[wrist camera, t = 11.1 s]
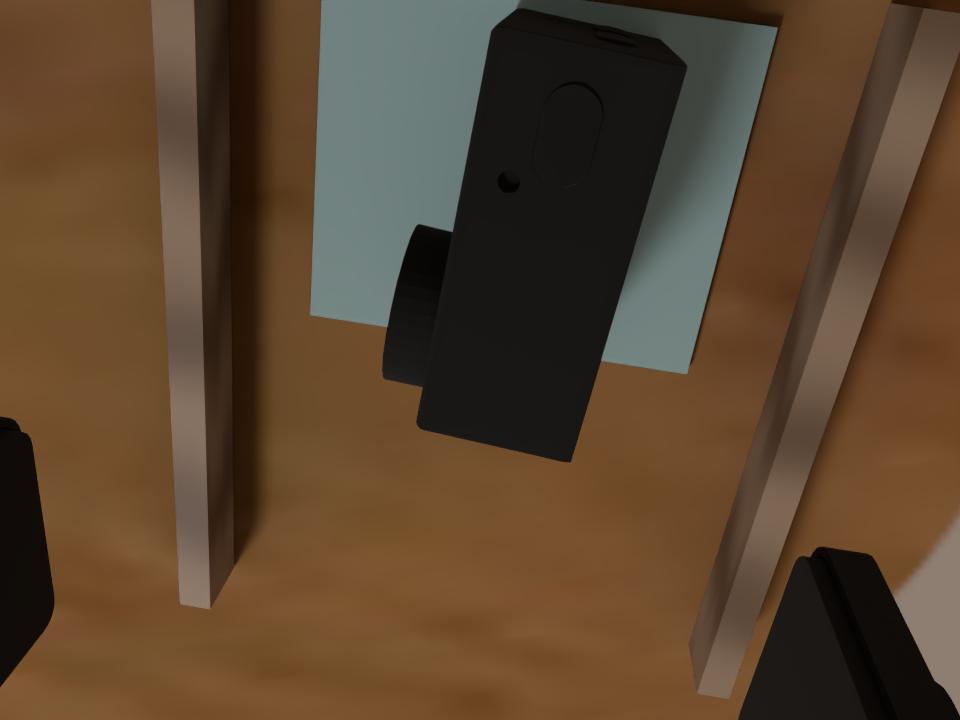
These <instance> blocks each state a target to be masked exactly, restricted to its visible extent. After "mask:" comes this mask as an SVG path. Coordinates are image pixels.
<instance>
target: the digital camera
mask: <svg viewBox="0 0 960 720" xmlns="http://www.w3.org/2000/svg"><path fill="white" fill-rule="evenodd" d="M687 68H688V67H687V65H686V63H685V62H684V61H683V60H682V59H681V58H680V57H679V56H678V55H677V54H676V53H675V52H673V51H672V50H671V49H670V48H669V47H668V46H667V45H666V44H665V43H664V42H663V41H662V40H661V39H658V38H654V37H650V36H645V35H641V34H636V33H632V32H627V31H624V30H622V29H618V28H615V27H611V26H605V25H596V24H592V23H587V22H583V21H578V20H574V19H570V18H565V17H561V16H556V15H552V14H547V13H543V12H538V11H534V10H529V9H525V8H518V9H516V10H514V11H513V12H512V13H511V14H509V15H508V16H507V17H506V18H504V19H503V20H502V21H500V22H499V23H498V24H497V25H496V26H495V27H494V28H493V29H492V30H491V34H490V39H489V44H488V50H487V55H486V60H485V65H484V70H483V76H482V81H481V86H480V91H479V97H478V102H477V107H476V112H475V117H474V123H473V128H472V133H471V138H470V144H469V149H468V154H467V159H466V165H465V170H464V175H463V180H462V185H461V191H460V196H459V201H458V206H457V212H456V217H455V222H454V227H453V232H450V231H446V230H442V229H438V228H434V227H430V226H426V225H421V224H418V225H417V226H416V227H415V229H414V231H413V233H412V235H411V237H410V240H409V243H408V246H407V249H406V252H405V255H404V258H403V262H402V265H401V269H400V273H399V276H398V280H397V284H396V288H395V293H394V297H393V301H392V306H391V310H390V316H389V321H388V327H387V332H386V339H385V346H384V353H383V367H382V371H383V378H384V379H387V380H391V381H396V382H401V383H406V384H410V385H415V386H420V387H423V389H422V395H421V400H420V405H419V410H418V415H417V421H416V422H417V425H418V427H419V428H420V429H422V430H426V431H431V432H435V433H439V434H444V435H448V436H453V437H457V438H461V439H466V440H470V441H475V442H479V443H483V444H488V445H492V446H497V447H501V448H505V449H510V450H514V451H519V452H523V453H527V454H532V455H536V456H541V457H545V458H549V459H553V460H557V461H562V462H571V460H572V456H573V453H574V450H575V446H576V443H577V440H578V436H579V433H580V430H581V426H582V423H583V420H584V416H585V413H586V410H587V406H588V403H589V399H590V396H591V393H592V389H593V386H594V383H595V379H596V376H597V373H598V369H599V366H600V362H601V359H602V356H603V352H604V349H605V346H606V342H607V339H608V335H609V332H610V329H611V325H612V322H613V319H614V315H615V312H616V308H617V305H618V302H619V298H620V295H621V291H622V288H623V285H624V281H625V278H626V275H627V271H628V268H629V264H630V261H631V258H632V254H633V251H634V248H635V244H636V241H637V237H638V234H639V231H640V227H641V224H642V221H643V217H644V214H645V210H646V207H647V204H648V200H649V197H650V193H651V190H652V187H653V183H654V180H655V176H656V173H657V170H658V166H659V163H660V159H661V156H662V153H663V149H664V146H665V142H666V139H667V136H668V132H669V129H670V125H671V122H672V119H673V115H674V112H675V108H676V105H677V102H678V98H679V95H680V91H681V88H682V85H683V81H684V78H685V75H686V71H687Z"/></svg>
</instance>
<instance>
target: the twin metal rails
mask: <svg viewBox="0 0 960 720" xmlns="http://www.w3.org/2000/svg"><path fill="white" fill-rule="evenodd" d="M151 5H152V26H153V47H154V68H155V89H156V110H157V131H158V152H159V173H160V194H161V215H162V236H163V257H164V278H165V299H166V320H167V341H168V362H169V383H170V404H171V425H172V446H173V467H174V488H175V509H176V530H177V551H178V572H179V593H180V604H183V605H189V606H194V607H200V608H206V609H211V607H212V605H213V604H214V602H215V600H216V598H217V597H218V595H219V593H220V591H221V589H222V588H223V586H224V584H225V582H226V581H227V579H228V577H229V575H230V573H231V572H232V570H233V568H234V496H233V393H232V291H231V189H230V86H229V0H151ZM959 52H960V13H956V12H950V11H943V10H936V9H929V8H922V7H915V6H907V5H900V4H893V3H891V4H890V7H889V11H888V14H887V17H886V20H885V23H884V26H883V30H882V33H881V36H880V39H879V42H878V46H877V49H876V52H875V55H874V58H873V61H872V65H871V68H870V71H869V74H868V77H867V81H866V84H865V87H864V90H863V93H862V96H861V100H860V103H859V106H858V109H857V112H856V115H855V119H854V122H853V125H852V128H851V131H850V135H849V138H848V141H847V144H846V147H845V150H844V154H843V157H842V160H841V163H840V166H839V170H838V173H837V176H836V179H835V182H834V185H833V189H832V192H831V195H830V198H829V201H828V205H827V208H826V211H825V214H824V217H823V220H822V224H821V227H820V230H819V233H818V236H817V239H816V243H815V246H814V249H813V252H812V255H811V259H810V262H809V265H808V268H807V271H806V274H805V278H804V281H803V284H802V287H801V290H800V294H799V297H798V300H797V303H796V306H795V309H794V313H793V316H792V319H791V322H790V325H789V328H788V332H787V335H786V338H785V341H784V344H783V348H782V351H781V354H780V357H779V360H778V363H777V367H776V370H775V373H774V376H773V379H772V383H771V386H770V389H769V392H768V395H767V398H766V402H765V405H764V408H763V411H762V414H761V418H760V421H759V424H758V427H757V430H756V433H755V437H754V440H753V443H752V446H751V449H750V452H749V456H748V459H747V462H746V465H745V468H744V472H743V475H742V478H741V481H740V484H739V487H738V491H737V494H736V497H735V500H734V503H733V507H732V510H731V513H730V516H729V519H728V522H727V526H726V529H725V532H724V535H723V538H722V542H721V545H720V548H719V551H718V554H717V557H716V561H715V564H714V567H713V570H712V573H711V576H710V580H709V583H708V586H707V589H706V592H705V596H704V599H703V602H702V605H701V608H700V611H699V615H698V618H697V621H696V624H695V627H694V631H693V634H692V637H691V640H690V643H689V647H690V654H691V660H692V666H693V672H694V679H695V685H696V691H697V694H703V695H708V696H714V697H720V698H726V699H729V697H730V694H731V691H732V688H733V686H734V683H735V680H736V677H737V674H738V672H739V669H740V666H741V663H742V660H743V658H744V655H745V652H746V649H747V646H748V644H749V641H750V638H751V635H752V632H753V630H754V627H755V624H756V621H757V618H758V616H759V613H760V610H761V607H762V604H763V602H764V599H765V596H766V593H767V590H768V588H769V585H770V582H771V579H772V576H773V574H774V571H775V568H776V565H777V562H778V560H779V557H780V554H781V551H782V548H783V545H784V543H785V540H786V537H787V534H788V531H789V529H790V526H791V523H792V520H793V517H794V515H795V512H796V509H797V506H798V503H799V501H800V498H801V495H802V492H803V489H804V487H805V484H806V481H807V478H808V475H809V473H810V470H811V467H812V464H813V461H814V459H815V456H816V453H817V450H818V447H819V445H820V442H821V439H822V436H823V433H824V431H825V428H826V425H827V422H828V419H829V417H830V414H831V411H832V408H833V405H834V403H835V400H836V397H837V394H838V391H839V389H840V386H841V383H842V380H843V377H844V374H845V372H846V369H847V366H848V363H849V360H850V358H851V355H852V352H853V349H854V346H855V344H856V341H857V338H858V335H859V332H860V330H861V327H862V324H863V321H864V318H865V316H866V313H867V310H868V307H869V304H870V302H871V299H872V296H873V293H874V290H875V288H876V285H877V282H878V279H879V276H880V274H881V271H882V268H883V265H884V262H885V260H886V257H887V254H888V251H889V248H890V246H891V243H892V240H893V237H894V234H895V232H896V229H897V226H898V223H899V220H900V218H901V215H902V212H903V209H904V206H905V203H906V201H907V198H908V195H909V192H910V189H911V187H912V184H913V181H914V178H915V175H916V173H917V170H918V167H919V164H920V161H921V159H922V156H923V153H924V150H925V147H926V145H927V142H928V139H929V136H930V133H931V131H932V128H933V125H934V122H935V119H936V117H937V114H938V111H939V108H940V105H941V103H942V100H943V97H944V94H945V91H946V89H947V86H948V83H949V80H950V77H951V75H952V72H953V69H954V66H955V63H956V61H957V58H958V55H959Z"/></svg>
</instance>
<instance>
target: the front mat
mask: <svg viewBox="0 0 960 720" xmlns="http://www.w3.org/2000/svg"><path fill="white" fill-rule="evenodd" d="M518 8H525V9H529V10H534V11H538V12H543V13H547V14H552V15H556V16H561V17H565V18H570V19H574V20H578V21H583V22H587V23H592V24H596V25H605V26H611V27H615V28H618V29H622V30H624V31H627V32H632V33H636V34H641V35H645V36H650V37H654V38H658V39H661V40H662V41H663V42H664V43H665V44H666V45H667V46H668V47H669V48H670V49H671V50H672V51H673V52H675V53H676V54H677V55H678V56H679V57H680V58H681V59H682V60H683V61H684V62H685V63H686V65H687V67H688V68H687V71H686V75H685V78H684V81H683V85H682V88H681V91H680V95H679V98H678V102H677V105H676V108H675V112H674V115H673V119H672V122H671V125H670V129H669V132H668V136H667V139H666V142H665V146H664V149H663V153H662V156H661V159H660V163H659V166H658V170H657V173H656V176H655V180H654V183H653V187H652V190H651V193H650V197H649V200H648V204H647V207H646V210H645V214H644V217H643V221H642V224H641V227H640V231H639V234H638V237H637V241H636V244H635V248H634V251H633V254H632V258H631V261H630V264H629V268H628V271H627V275H626V278H625V281H624V285H623V288H622V291H621V295H620V298H619V302H618V305H617V308H616V312H615V315H614V319H613V322H612V325H611V329H610V332H609V335H608V339H607V342H606V346H605V349H604V352H603V356H602V359H601V361H606V362H612V363H619V364H625V365H631V366H638V367H644V368H651V369H657V370H663V371H670V372H676V373H682V374H687V372H688V369H689V365H690V361H691V357H692V353H693V349H694V346H695V342H696V338H697V334H698V330H699V327H700V323H701V319H702V315H703V311H704V308H705V304H706V300H707V296H708V292H709V288H710V285H711V281H712V277H713V273H714V269H715V266H716V262H717V258H718V254H719V250H720V247H721V243H722V239H723V235H724V231H725V228H726V224H727V220H728V216H729V212H730V208H731V205H732V201H733V197H734V193H735V189H736V186H737V182H738V178H739V174H740V170H741V167H742V163H743V159H744V155H745V151H746V147H747V144H748V140H749V136H750V132H751V128H752V125H753V121H754V117H755V113H756V109H757V106H758V102H759V98H760V94H761V90H762V86H763V83H764V79H765V75H766V71H767V67H768V64H769V60H770V56H771V52H772V48H773V45H774V41H775V37H776V33H777V29H778V28H777V27H772V26H764V25H757V24H750V23H743V22H736V21H729V20H721V19H714V18H707V17H700V16H693V15H686V14H678V13H671V12H664V11H657V10H650V9H643V8H635V7H628V6H621V5H614V4H607V3H600V2H592V1H585V0H322V5H321V33H320V61H319V89H318V117H317V145H316V173H315V201H314V229H313V257H312V285H311V313H310V315H314V316H320V317H326V318H333V319H339V320H346V321H352V322H358V323H365V324H371V325H377V326H384V327H388V321H389V316H390V310H391V306H392V301H393V297H394V293H395V288H396V284H397V280H398V276H399V273H400V269H401V265H402V262H403V258H404V255H405V252H406V249H407V246H408V243H409V240H410V237H411V235H412V233H413V231H414V229H415V227H416V226H417V225H418V224H421V225H426V226H430V227H434V228H438V229H442V230H446V231H450V232H453V227H454V222H455V217H456V212H457V206H458V201H459V196H460V191H461V185H462V180H463V175H464V170H465V165H466V159H467V154H468V149H469V144H470V138H471V133H472V128H473V123H474V117H475V112H476V107H477V102H478V97H479V91H480V86H481V81H482V76H483V70H484V65H485V60H486V55H487V50H488V44H489V39H490V34H491V30H492V29H493V28H494V27H495V26H496V25H497V24H498V23H499V22H500V21H502V20H503V19H504V18H506V17H507V16H508V15H509V14H511V13H512V12H513V11H514V10H516V9H518Z"/></svg>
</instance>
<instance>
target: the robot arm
mask: <svg viewBox="0 0 960 720" xmlns="http://www.w3.org/2000/svg"><path fill="white" fill-rule="evenodd" d="M53 610H54V591H53V584H52V577H51V571H50V564H49V557H48V550H47V543H46V536H45V529H44V522H43V515H42V508H41V501H40V495H39V488H38V481H37V474H36V467H35V460H34V453H33V446H32V442H31V438H30V437H29V436H28V434H26V433H24V432H21V430H20V427H19V425H18V424H17V423H16V421H15V420H12V419H10V418H6V417H0V687H1V686H2V684H3V683H4V682H5V680H6V679H7V678H8V677H9V675H10V674H11V673H12V671H13V670H14V669H15V668H16V666H17V665H18V664H19V662H20V661H21V660H22V659H23V657H24V656H25V655H26V653H27V652H28V651H29V650H30V648H31V647H32V646H33V644H34V643H35V642H36V641H37V639H38V638H39V637H40V636H41V634H42V633H43V632H44V630H45V629H46V627H47V626H48V624H49V621H50V619H51V617H52V613H53ZM739 720H960V715H959V713H958V711H957V709H956V707H955V705H954V703H953V702H952V700H951V698H950V697H949V695H948V694H947V692H946V691H945V689H944V688H943V687H942V686H941V685H939V684H938V683H936V682H935V681H934V679H933V677H932V675H931V673H930V671H929V669H928V667H927V665H926V663H925V661H924V659H923V657H922V655H921V653H920V651H919V648H918V646H917V644H916V642H915V640H914V638H913V636H912V634H911V632H910V630H909V628H908V626H907V624H906V622H905V620H904V618H903V616H902V614H901V612H900V610H899V608H898V606H897V604H896V602H895V600H894V597H893V595H892V593H891V591H890V589H889V587H888V585H887V583H886V581H885V579H884V577H883V575H882V573H881V571H880V569H879V567H878V565H877V563H876V561H875V560H874V558H873V557H872V556H870V555H869V554H865V553H859V552H853V551H846V550H840V549H834V548H827V547H818V548H817V549H816V550H815V551H814V552H813V553H812V555H811V557H805V556H801V557H799V558H798V559H797V560H796V562H795V564H794V566H793V569H792V572H791V575H790V577H789V580H788V583H787V586H786V588H785V591H784V594H783V597H782V599H781V602H780V605H779V607H778V610H777V613H776V616H775V618H774V621H773V624H772V627H771V629H770V632H769V635H768V638H767V640H766V643H765V646H764V648H763V651H762V654H761V657H760V659H759V662H758V665H757V668H756V670H755V673H754V676H753V679H752V681H751V684H750V687H749V689H748V692H747V695H746V698H745V700H744V703H743V706H742V709H741V711H740V715H739Z"/></svg>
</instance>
